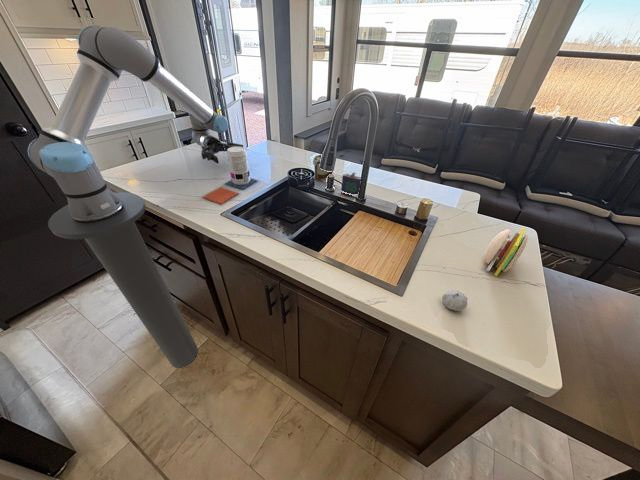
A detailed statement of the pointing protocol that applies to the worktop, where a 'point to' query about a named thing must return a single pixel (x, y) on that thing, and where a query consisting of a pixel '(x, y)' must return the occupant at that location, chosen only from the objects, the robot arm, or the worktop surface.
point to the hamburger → (505, 250)
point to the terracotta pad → (220, 195)
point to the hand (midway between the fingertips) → (231, 156)
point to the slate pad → (241, 185)
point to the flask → (350, 184)
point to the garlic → (455, 300)
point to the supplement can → (238, 165)
